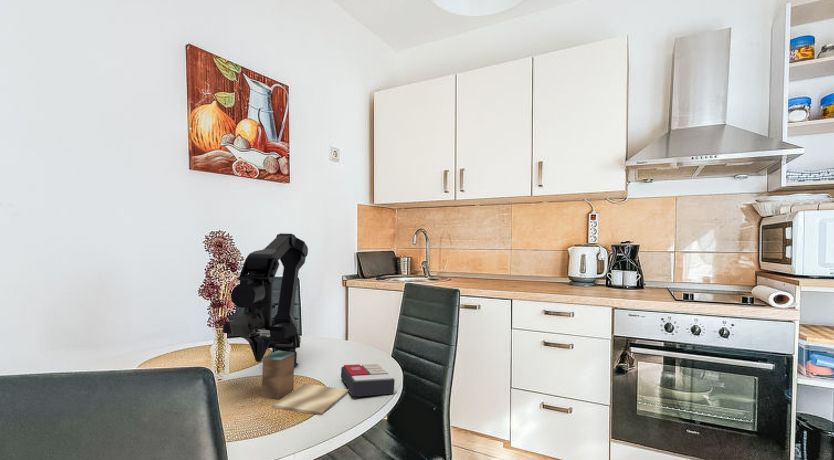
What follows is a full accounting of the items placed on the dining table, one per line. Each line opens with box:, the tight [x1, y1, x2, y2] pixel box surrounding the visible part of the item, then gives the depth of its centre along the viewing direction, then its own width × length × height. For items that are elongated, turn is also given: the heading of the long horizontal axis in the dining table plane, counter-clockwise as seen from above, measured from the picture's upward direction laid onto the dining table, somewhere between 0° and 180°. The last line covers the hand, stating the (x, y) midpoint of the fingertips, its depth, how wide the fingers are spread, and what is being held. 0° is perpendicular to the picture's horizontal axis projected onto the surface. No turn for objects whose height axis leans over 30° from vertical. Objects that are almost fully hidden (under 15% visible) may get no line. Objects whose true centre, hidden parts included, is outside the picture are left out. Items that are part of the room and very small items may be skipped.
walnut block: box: [261, 351, 295, 401], centre depth 98 cm, size 5×6×10 cm
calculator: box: [340, 363, 395, 398], centre depth 104 cm, size 11×4×15 cm
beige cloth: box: [271, 383, 350, 416], centre depth 95 cm, size 13×14×1 cm
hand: (258, 361), depth 100 cm, fingers closed
